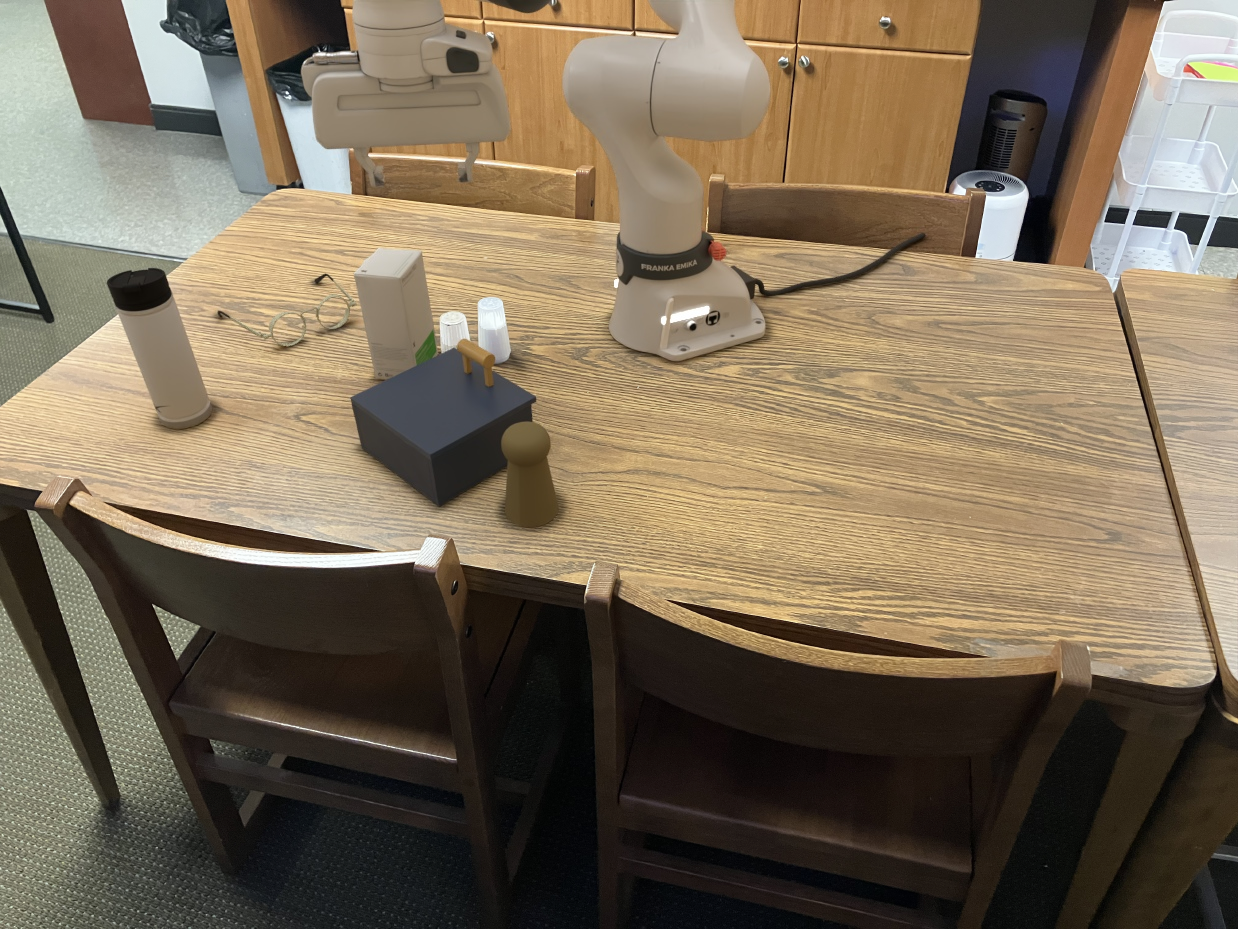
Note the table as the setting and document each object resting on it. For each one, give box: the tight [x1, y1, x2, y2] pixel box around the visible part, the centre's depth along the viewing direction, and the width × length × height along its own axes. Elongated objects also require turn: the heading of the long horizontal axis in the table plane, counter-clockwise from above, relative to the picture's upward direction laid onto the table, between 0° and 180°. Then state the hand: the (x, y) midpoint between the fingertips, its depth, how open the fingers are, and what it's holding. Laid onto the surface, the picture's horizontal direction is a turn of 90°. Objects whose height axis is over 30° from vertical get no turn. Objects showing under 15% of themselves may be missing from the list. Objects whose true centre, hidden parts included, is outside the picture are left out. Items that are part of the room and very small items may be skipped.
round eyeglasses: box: [217, 273, 358, 347], centre depth 135 cm, size 17×15×5 cm
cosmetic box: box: [353, 247, 439, 381], centre depth 122 cm, size 8×7×16 cm
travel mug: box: [106, 267, 213, 430], centre depth 112 cm, size 6×7×20 cm
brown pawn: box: [501, 421, 559, 528], centre depth 100 cm, size 6×6×11 cm
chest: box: [351, 403, 534, 508], centre depth 110 cm, size 14×15×7 cm
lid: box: [349, 338, 537, 460], centre depth 107 cm, size 15×15×5 cm
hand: (422, 182), depth 102 cm, fingers open, 8 cm apart
